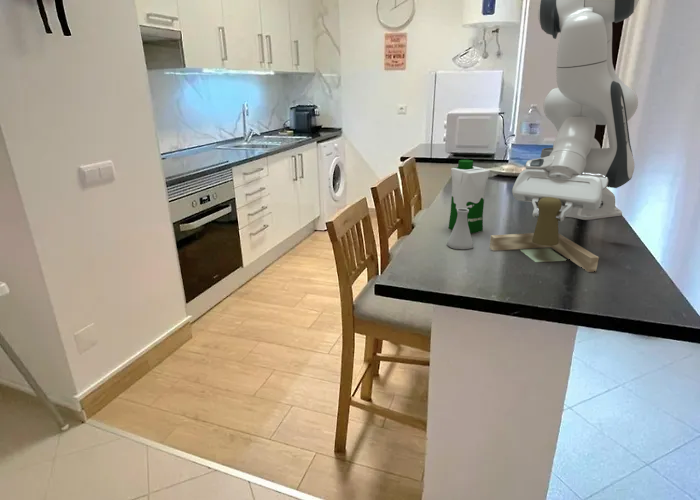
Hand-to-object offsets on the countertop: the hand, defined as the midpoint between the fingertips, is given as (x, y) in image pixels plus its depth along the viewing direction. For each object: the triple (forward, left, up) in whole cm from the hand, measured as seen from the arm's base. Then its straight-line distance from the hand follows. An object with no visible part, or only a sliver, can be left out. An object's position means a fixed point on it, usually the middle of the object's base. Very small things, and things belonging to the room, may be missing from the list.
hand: (547, 217), depth 108 cm
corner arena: (+1, +1, -10) cm, 10 cm away
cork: (0, 0, -6) cm, 6 cm away
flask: (+17, -11, -10) cm, 23 cm away
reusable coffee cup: (-41, -66, -10) cm, 78 cm away
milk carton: (+11, -23, -10) cm, 28 cm away
